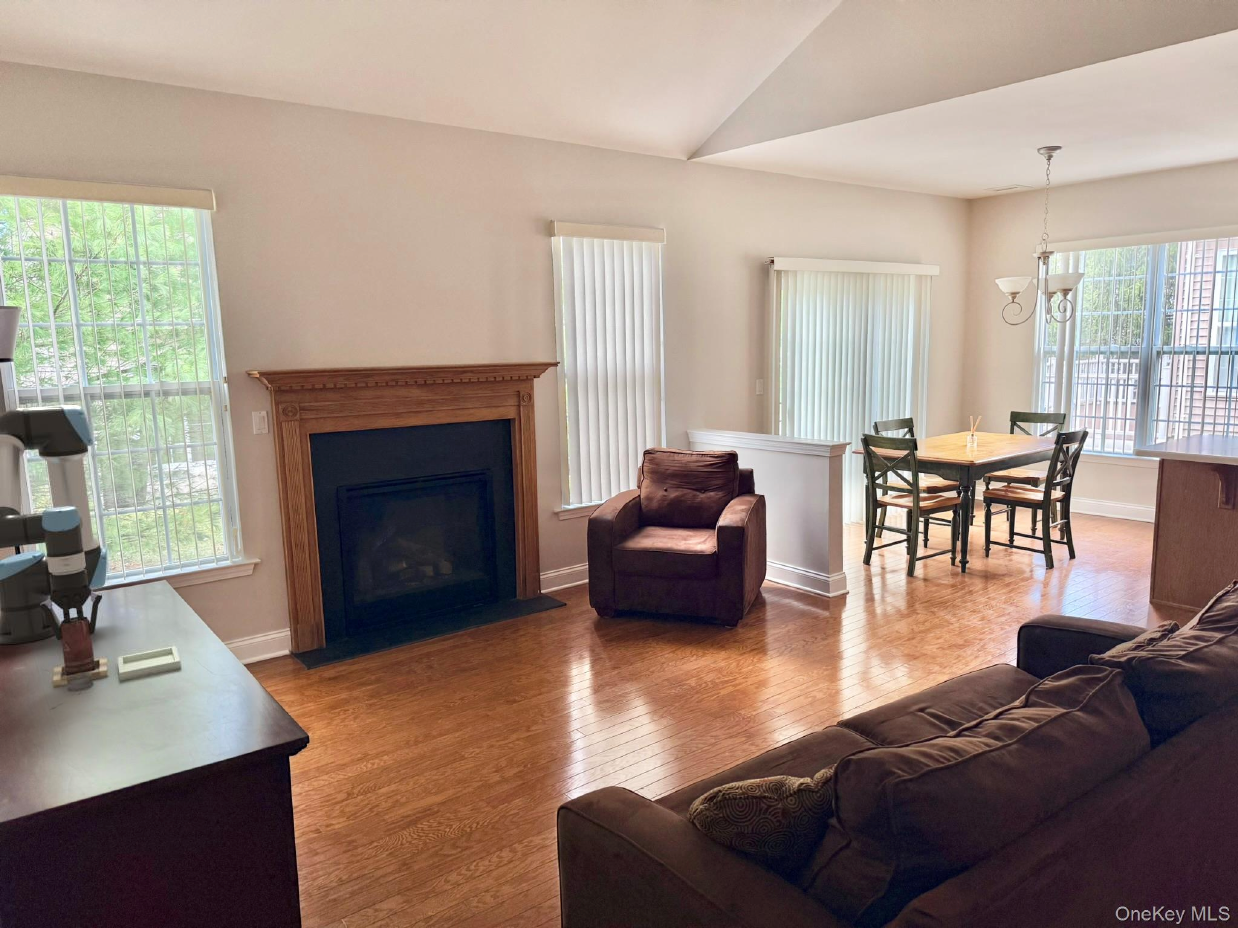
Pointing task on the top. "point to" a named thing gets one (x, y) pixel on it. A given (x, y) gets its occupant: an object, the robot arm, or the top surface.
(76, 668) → the can
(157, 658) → the tray
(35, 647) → the top surface
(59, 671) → the collar block
